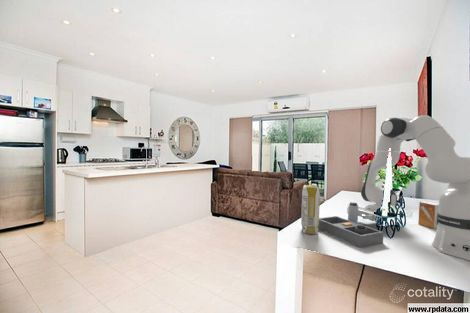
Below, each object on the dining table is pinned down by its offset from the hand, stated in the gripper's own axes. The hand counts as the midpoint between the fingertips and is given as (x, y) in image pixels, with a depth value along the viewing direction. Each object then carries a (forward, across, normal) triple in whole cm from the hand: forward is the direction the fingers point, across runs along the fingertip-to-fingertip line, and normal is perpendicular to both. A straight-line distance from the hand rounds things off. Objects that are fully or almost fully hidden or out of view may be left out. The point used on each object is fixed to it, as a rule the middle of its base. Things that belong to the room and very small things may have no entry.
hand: (355, 214), depth 122 cm
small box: (-42, +13, +7) cm, 44 cm away
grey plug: (+2, 0, +6) cm, 7 cm away
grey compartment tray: (+15, +8, +6) cm, 18 cm away
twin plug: (+15, +15, +4) cm, 22 cm away
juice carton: (+29, -2, +7) cm, 30 cm away
